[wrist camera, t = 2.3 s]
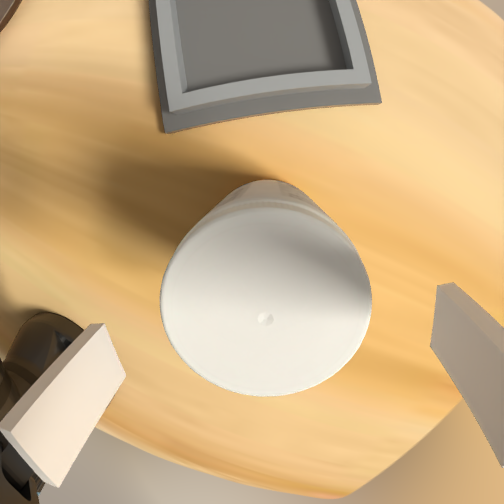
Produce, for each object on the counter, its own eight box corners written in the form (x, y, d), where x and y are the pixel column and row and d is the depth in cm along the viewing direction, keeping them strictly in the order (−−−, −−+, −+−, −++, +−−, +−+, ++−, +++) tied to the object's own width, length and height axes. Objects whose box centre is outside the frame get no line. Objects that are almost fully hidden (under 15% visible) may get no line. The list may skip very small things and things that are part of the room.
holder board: (168, 134, 25) (156, 131, 22) (150, -25, 20) (139, -39, 17) (378, 104, 23) (390, 99, 20) (332, -53, 18) (336, -69, 15)
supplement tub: (223, 290, 29) (182, 404, 15) (203, 187, 26) (125, 226, 12) (329, 277, 28) (372, 387, 14) (318, 170, 25) (371, 189, 11)
